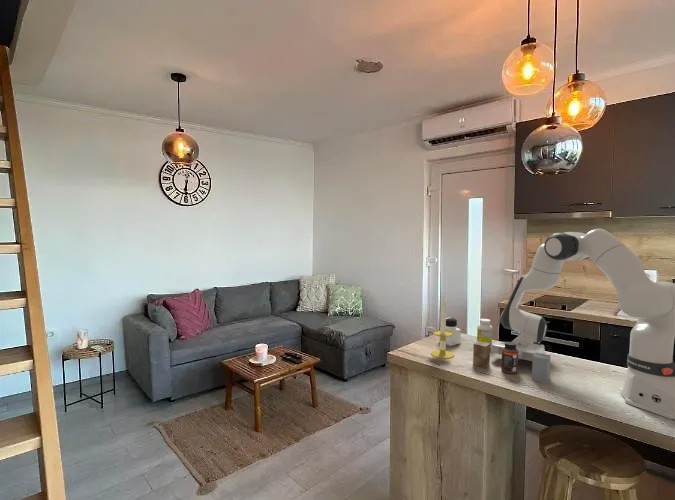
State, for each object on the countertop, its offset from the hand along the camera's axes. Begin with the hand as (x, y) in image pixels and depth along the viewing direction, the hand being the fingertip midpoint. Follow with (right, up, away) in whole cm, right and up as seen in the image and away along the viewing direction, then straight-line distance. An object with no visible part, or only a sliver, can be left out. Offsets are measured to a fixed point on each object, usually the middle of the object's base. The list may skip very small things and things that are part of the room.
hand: (512, 356), depth 154 cm
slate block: (+6, -6, -9) cm, 13 cm away
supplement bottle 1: (0, -3, +28) cm, 28 cm away
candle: (-23, -4, +17) cm, 29 cm away
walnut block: (-11, -5, +5) cm, 13 cm away
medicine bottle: (-15, -3, +34) cm, 37 cm away
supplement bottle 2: (-2, -5, -2) cm, 6 cm away
